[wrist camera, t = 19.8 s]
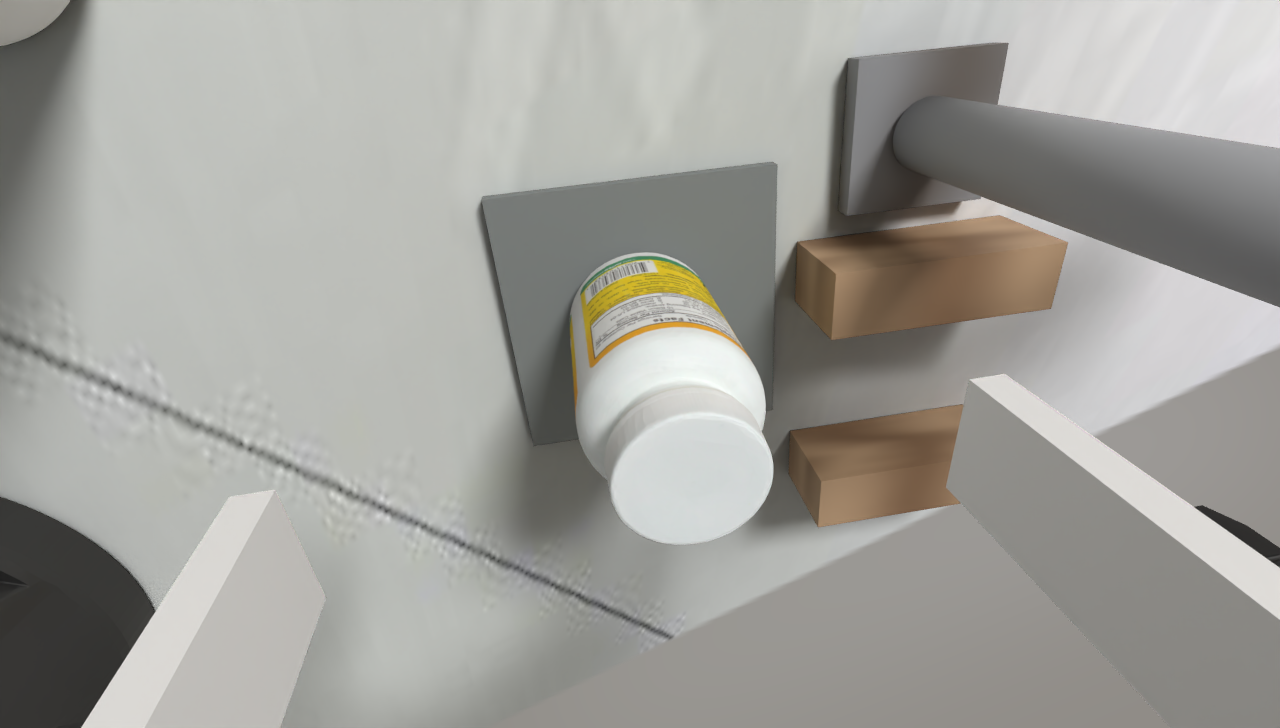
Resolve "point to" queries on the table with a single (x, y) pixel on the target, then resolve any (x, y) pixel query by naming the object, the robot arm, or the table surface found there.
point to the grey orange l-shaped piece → (1112, 184)
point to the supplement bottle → (667, 401)
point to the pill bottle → (27, 17)
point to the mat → (619, 225)
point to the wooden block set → (906, 284)
